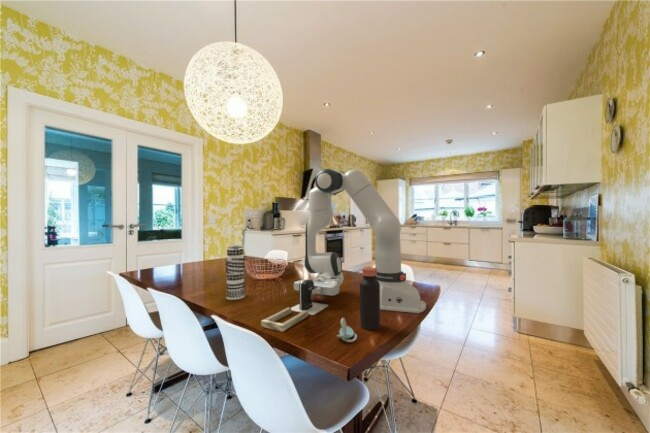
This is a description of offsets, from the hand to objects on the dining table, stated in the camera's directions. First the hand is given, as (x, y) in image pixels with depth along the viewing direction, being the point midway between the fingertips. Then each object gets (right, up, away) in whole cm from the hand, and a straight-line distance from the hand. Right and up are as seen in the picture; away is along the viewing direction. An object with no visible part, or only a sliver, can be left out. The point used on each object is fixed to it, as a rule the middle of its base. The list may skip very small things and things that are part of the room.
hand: (306, 291), depth 107 cm
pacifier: (+15, -7, -26) cm, 31 cm away
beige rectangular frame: (-6, -7, -11) cm, 15 cm away
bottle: (+23, -7, -18) cm, 30 cm away
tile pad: (+1, -7, +2) cm, 8 cm away
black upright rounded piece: (0, -7, +1) cm, 7 cm away
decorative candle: (-35, -8, +18) cm, 41 cm away
